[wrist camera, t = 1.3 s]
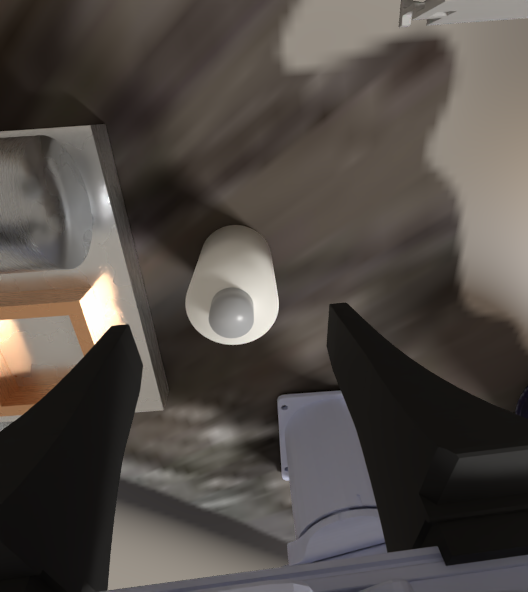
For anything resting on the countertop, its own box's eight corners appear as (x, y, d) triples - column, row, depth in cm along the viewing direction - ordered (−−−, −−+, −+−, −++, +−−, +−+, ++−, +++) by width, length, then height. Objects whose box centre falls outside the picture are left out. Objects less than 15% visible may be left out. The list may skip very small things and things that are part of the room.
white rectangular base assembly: (169, 390, 27) (142, 484, 20) (8, 402, 27) (-73, 500, 20) (105, 123, 19) (23, 131, 12) (-128, 140, 19) (-343, 157, 12)
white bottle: (273, 288, 23) (282, 356, 17) (205, 293, 23) (189, 362, 17) (269, 222, 21) (278, 270, 15) (195, 227, 21) (172, 277, 15)
